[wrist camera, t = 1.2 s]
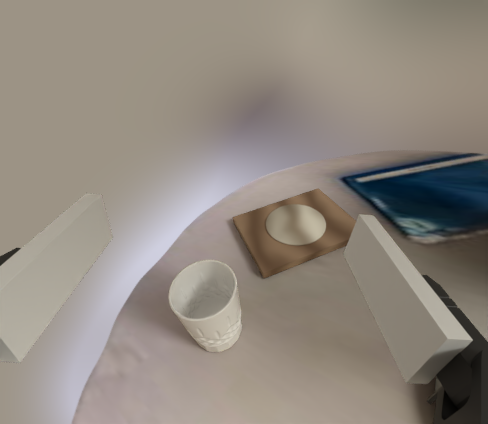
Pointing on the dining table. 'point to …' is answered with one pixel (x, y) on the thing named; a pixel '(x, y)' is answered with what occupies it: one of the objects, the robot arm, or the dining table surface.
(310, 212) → the walnut board
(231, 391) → the dining table surface
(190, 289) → the white cup
